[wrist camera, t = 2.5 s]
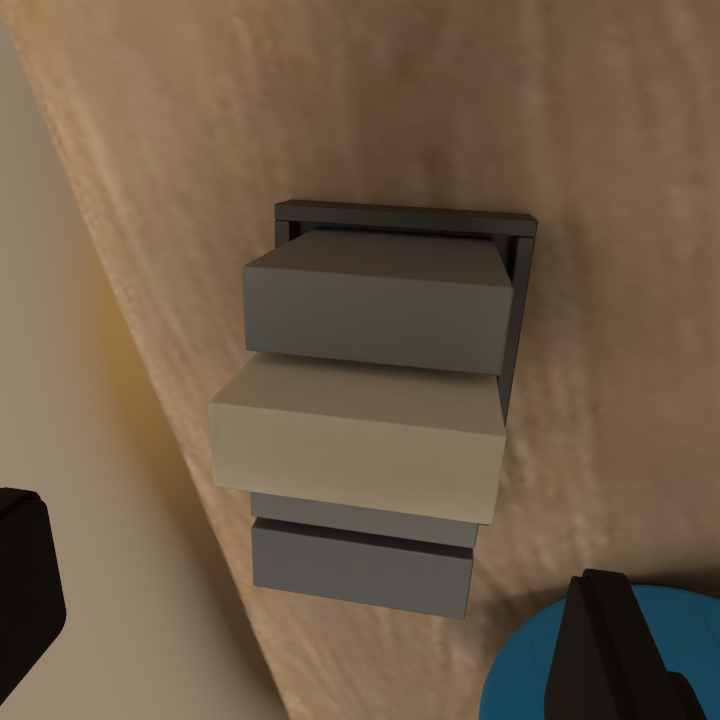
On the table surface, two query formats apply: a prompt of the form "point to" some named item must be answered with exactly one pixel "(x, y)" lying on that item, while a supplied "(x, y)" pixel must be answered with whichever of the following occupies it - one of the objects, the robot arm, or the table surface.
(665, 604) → the alarm clock
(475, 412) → the white box
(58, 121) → the table surface
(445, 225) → the grey tray
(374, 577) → the grey books
